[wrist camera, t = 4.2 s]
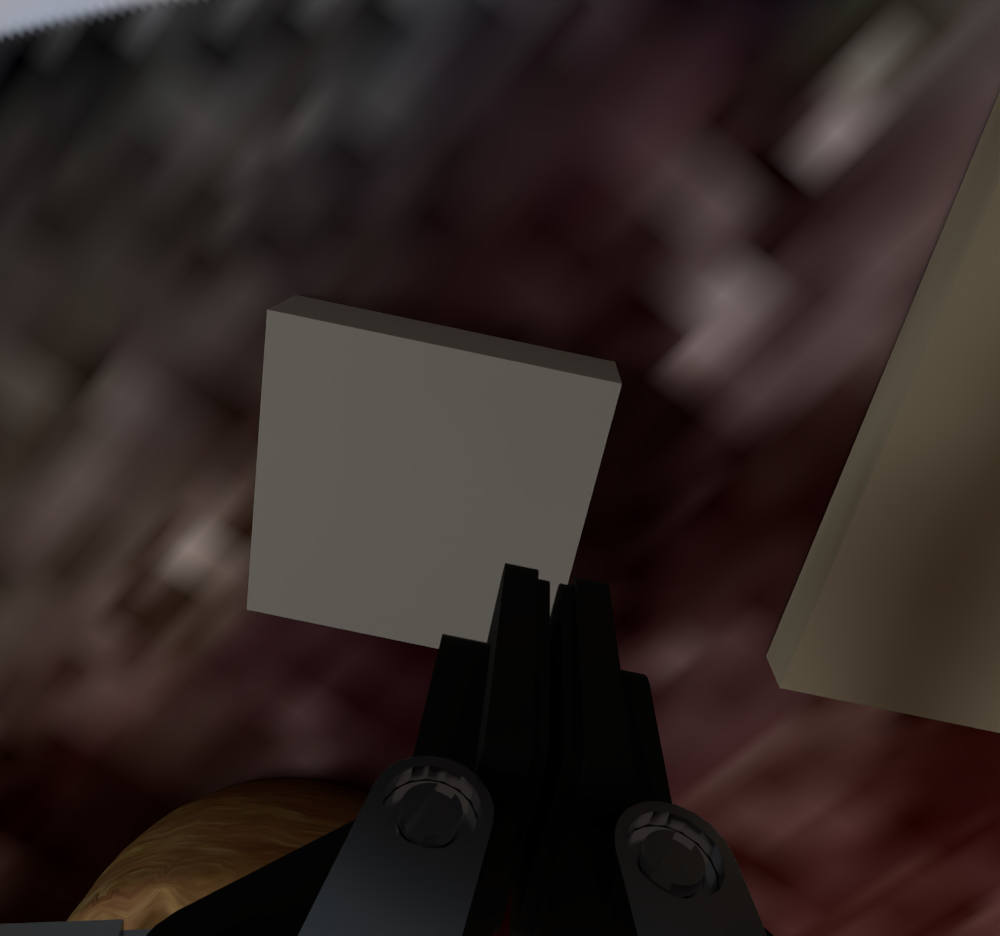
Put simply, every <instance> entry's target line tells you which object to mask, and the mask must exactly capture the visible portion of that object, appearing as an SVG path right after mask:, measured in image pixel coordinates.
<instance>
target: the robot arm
mask: <svg viewBox="0 0 1000 936" xmlns="http://www.w3.org/2000/svg"><path fill="white" fill-rule="evenodd" d="M538 577H539V570H537V569H533V568H528V567H523V566H518V565H513V564H508V563H505V565H504V569H503V573H502V577H501V582H500V586H499V590H498V595H497V599H496V604H495V608H494V613H493V617H492V621H491V626H490V630H489V635H488V639H487V643H486V642H481V641H476V640H471V639H466V638H461V637H456V636H451V635H446V634H442V637H441V641H440V646H439V650H438V654H437V658H436V662H435V667H434V671H433V675H432V679H431V684H430V688H429V692H428V696H427V700H426V705H425V709H424V713H423V717H422V721H421V726H420V730H419V734H418V738H417V743H416V747H415V751H414V755H413V757H411V758H408V759H404V760H401V761H398V762H396V763H395V764H393V765H392V766H390V767H389V768H387V769H386V770H384V771H383V772H382V773H381V775H380V776H379V777H378V779H377V780H376V781H375V783H374V784H373V786H372V788H371V790H370V792H369V794H368V796H367V798H366V800H365V802H364V804H363V806H362V808H361V810H360V812H359V814H358V816H357V818H356V819H355V820H353V821H351V822H349V823H347V824H345V825H343V826H341V827H339V828H337V829H335V830H334V831H332V832H330V833H328V834H326V835H324V836H322V837H320V838H318V839H316V840H314V841H312V842H310V843H308V844H306V845H304V846H302V847H300V848H298V849H296V850H294V851H293V852H291V853H289V854H287V855H285V856H283V857H281V858H279V859H277V860H275V861H273V862H271V863H269V864H267V865H265V866H263V867H261V868H259V869H257V870H255V871H253V872H252V873H250V874H248V875H246V876H244V877H242V878H240V879H238V880H236V881H234V882H232V883H230V884H228V885H226V886H224V887H222V888H220V889H218V890H216V891H214V892H212V893H211V894H209V895H207V896H205V897H203V898H201V899H199V900H197V901H195V902H193V903H191V904H189V905H187V906H185V907H183V908H181V909H179V910H177V911H176V912H174V913H173V914H171V915H170V916H168V917H167V918H165V919H164V920H163V921H161V922H160V923H158V924H157V925H155V926H154V927H153V928H152V929H138V930H124V919H116V920H90V921H64V922H37V923H11V924H0V936H492V934H493V932H495V933H498V932H499V930H500V927H501V924H502V921H503V917H504V914H505V910H506V907H507V903H508V900H509V896H510V893H511V889H512V903H511V920H510V934H511V936H773V935H772V934H771V933H770V932H769V931H768V930H767V929H765V928H764V927H763V924H762V922H761V919H760V917H759V915H758V912H757V910H756V907H755V905H754V903H753V900H752V898H751V895H750V893H749V891H748V888H747V886H746V884H745V881H744V879H743V876H742V874H741V872H740V869H739V867H738V864H737V862H736V860H735V857H734V855H733V854H732V852H731V850H730V848H729V847H728V845H727V843H726V841H725V840H724V839H723V838H722V836H721V835H720V834H719V833H718V832H717V831H716V830H715V829H714V828H713V827H712V826H711V825H710V824H709V823H708V822H706V821H705V820H703V819H702V818H701V817H699V816H698V815H696V814H695V813H693V812H691V811H689V810H687V809H685V808H682V807H680V806H678V805H676V804H672V801H671V796H670V791H669V785H668V780H667V775H666V770H665V764H664V759H663V754H662V748H661V743H660V738H659V732H658V727H657V722H656V716H655V711H654V706H653V700H652V695H651V690H650V684H649V681H648V678H647V677H646V676H645V675H644V674H639V673H634V672H629V671H624V670H620V663H619V655H618V648H617V640H616V633H615V626H614V618H613V611H612V604H611V596H610V589H609V585H608V584H606V583H601V582H596V581H591V580H586V579H582V578H577V577H574V578H573V580H572V583H571V585H566V584H561V583H560V584H559V586H558V589H557V592H556V596H555V600H554V603H553V607H552V611H551V615H550V581H546V580H542V579H538Z"/></svg>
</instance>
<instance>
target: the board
mask: <svg viewBox="0 0 1000 936" xmlns="http://www.w3.org/2000/svg"><path fill="white" fill-rule="evenodd" d="M766 657H767V660H768V662H769V664H770V666H771V669H772V671H773V673H774V676H775V678H776V680H777V683H778V685H779V687H780V688H783V689H788V690H793V691H798V692H802V693H807V694H812V695H817V696H822V697H827V698H832V699H837V700H842V701H846V702H851V703H856V704H861V705H866V706H871V707H876V708H881V709H886V710H890V711H895V712H900V713H905V714H910V715H915V716H920V717H925V718H930V719H934V720H939V721H944V722H949V723H954V724H959V725H964V726H969V727H974V728H978V729H983V730H988V731H993V732H998V733H1000V92H999V95H998V97H997V100H996V102H995V104H994V107H993V109H992V112H991V114H990V116H989V119H988V121H987V124H986V126H985V129H984V131H983V133H982V136H981V138H980V141H979V143H978V145H977V148H976V150H975V153H974V155H973V158H972V160H971V162H970V165H969V167H968V170H967V172H966V174H965V177H964V179H963V182H962V184H961V187H960V189H959V191H958V194H957V196H956V199H955V201H954V203H953V206H952V208H951V211H950V213H949V216H948V218H947V220H946V223H945V225H944V228H943V230H942V232H941V235H940V237H939V240H938V242H937V245H936V247H935V249H934V252H933V254H932V257H931V259H930V261H929V264H928V266H927V269H926V271H925V274H924V276H923V278H922V281H921V283H920V286H919V288H918V290H917V293H916V295H915V298H914V300H913V303H912V305H911V307H910V310H909V312H908V315H907V317H906V319H905V322H904V324H903V327H902V329H901V332H900V334H899V336H898V339H897V341H896V344H895V346H894V348H893V351H892V353H891V356H890V358H889V361H888V363H887V365H886V368H885V370H884V373H883V375H882V377H881V380H880V382H879V385H878V387H877V390H876V392H875V394H874V397H873V399H872V402H871V404H870V406H869V409H868V411H867V414H866V416H865V419H864V421H863V423H862V426H861V428H860V431H859V433H858V435H857V438H856V440H855V443H854V445H853V447H852V450H851V452H850V455H849V457H848V460H847V462H846V464H845V467H844V469H843V472H842V474H841V476H840V479H839V481H838V484H837V486H836V489H835V491H834V493H833V496H832V498H831V501H830V503H829V505H828V508H827V510H826V513H825V515H824V518H823V520H822V522H821V525H820V527H819V530H818V532H817V534H816V537H815V539H814V542H813V544H812V547H811V549H810V551H809V554H808V556H807V559H806V561H805V563H804V566H803V568H802V571H801V573H800V576H799V578H798V580H797V583H796V585H795V588H794V590H793V592H792V595H791V597H790V600H789V602H788V605H787V607H786V609H785V612H784V614H783V617H782V619H781V621H780V624H779V626H778V629H777V631H776V634H775V636H774V638H773V641H772V643H771V646H770V648H769V650H768V653H767V655H766Z"/></svg>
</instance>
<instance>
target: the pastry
mask: <svg viewBox="0 0 1000 936" xmlns="http://www.w3.org/2000/svg"><path fill="white" fill-rule="evenodd" d="M367 796H368V795H367V794H365V793H362V792H360V791H357V790H355V789H352V788H348V787H344V786H339V785H335V784H331V783H326V782H320V781H314V780H308V779H302V778H274V779H263V780H252V781H247V782H244V783H240V784H236V785H232V786H228V787H226V788H223V789H221V790H218V791H216V792H213V793H211V794H209V795H206V796H204V797H202V798H199V799H197V800H195V801H192V802H190V803H188V804H185V805H183V806H181V807H178V808H177V809H175V810H174V811H173V812H171V813H170V814H168V815H167V816H165V817H164V818H162V819H161V820H159V821H158V822H156V823H155V824H154V825H152V826H151V827H150V828H149V829H148V830H146V831H145V832H144V833H143V834H141V835H140V836H139V837H138V838H137V839H135V840H134V841H133V842H132V843H131V844H130V845H129V846H127V847H126V848H125V849H124V850H123V851H122V852H121V853H120V854H119V855H118V856H117V858H116V859H115V860H114V861H113V862H112V863H111V864H110V865H109V866H108V868H107V869H106V870H105V871H104V872H103V873H102V874H101V876H100V877H99V878H98V879H97V881H96V882H95V883H94V885H93V886H92V888H91V889H90V891H89V892H88V893H87V895H86V896H85V898H84V899H83V900H82V901H81V903H80V904H79V905H78V906H77V908H76V909H75V910H74V911H73V913H72V914H71V915H70V917H69V918H68V920H67V921H90V920H116V919H124V930H138V929H152V928H153V927H154V926H155V925H157V924H158V923H160V922H161V921H163V920H164V919H165V918H167V917H168V916H170V915H171V914H173V913H174V912H176V911H177V910H179V909H181V908H183V907H185V906H187V905H189V904H191V903H193V902H195V901H197V900H199V899H201V898H203V897H205V896H207V895H209V894H211V893H212V892H214V891H216V890H218V889H220V888H222V887H224V886H226V885H228V884H230V883H232V882H234V881H236V880H238V879H240V878H242V877H244V876H246V875H248V874H250V873H252V872H253V871H255V870H257V869H259V868H261V867H263V866H265V865H267V864H269V863H271V862H273V861H275V860H277V859H279V858H281V857H283V856H285V855H287V854H289V853H291V852H293V851H294V850H296V849H298V848H300V847H302V846H304V845H306V844H308V843H310V842H312V841H314V840H316V839H318V838H320V837H322V836H324V835H326V834H328V833H330V832H332V831H334V830H335V829H337V828H339V827H341V826H343V825H345V824H347V823H349V822H351V821H353V820H355V819H356V818H357V816H358V814H359V812H360V810H361V808H362V806H363V804H364V802H365V800H366V798H367Z"/></svg>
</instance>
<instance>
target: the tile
mask: <svg viewBox="0 0 1000 936" xmlns="http://www.w3.org/2000/svg"><path fill="white" fill-rule="evenodd" d="M621 385H622V382H621V379H620V376H619V373H618V370H617V366H616V363H615V362H613V361H608V360H604V359H599V358H594V357H589V356H585V355H580V354H575V353H570V352H566V351H561V350H556V349H551V348H547V347H542V346H537V345H532V344H527V343H523V342H518V341H513V340H508V339H504V338H499V337H494V336H489V335H485V334H480V333H475V332H470V331H466V330H461V329H456V328H451V327H447V326H442V325H437V324H432V323H427V322H423V321H418V320H413V319H408V318H404V317H399V316H394V315H389V314H385V313H380V312H375V311H370V310H366V309H361V308H356V307H351V306H346V305H342V304H337V303H332V302H327V301H323V300H318V299H313V298H308V297H304V296H299V295H296V296H294V297H292V298H290V299H288V300H286V301H284V302H282V303H280V304H277V305H275V306H273V307H271V308H269V309H267V321H266V335H265V350H264V365H263V379H262V394H261V408H260V423H259V438H258V452H257V467H256V481H255V496H254V511H253V525H252V540H251V554H250V569H249V584H248V598H247V610H252V611H257V612H262V613H266V614H271V615H276V616H281V617H286V618H291V619H296V620H301V621H306V622H310V623H315V624H320V625H325V626H330V627H335V628H340V629H345V630H349V631H354V632H359V633H364V634H369V635H374V636H379V637H384V638H388V639H393V640H398V641H403V642H408V643H413V644H418V645H423V646H427V647H432V648H437V649H439V646H440V641H441V637H442V634H446V635H451V636H456V637H461V638H466V639H471V640H476V641H481V642H486V643H487V639H488V635H489V630H490V626H491V621H492V617H493V613H494V608H495V604H496V599H497V595H498V590H499V586H500V582H501V577H502V573H503V569H504V565H505V563H508V564H513V565H518V566H523V567H528V568H533V569H537V570H539V577H538V579H542V580H546V581H550V615H551V611H552V607H553V603H554V600H555V596H556V592H557V589H558V586H559V584H560V583H561V584H566V585H568V581H569V577H570V573H571V570H572V566H573V562H574V559H575V555H576V551H577V548H578V544H579V540H580V537H581V533H582V529H583V526H584V522H585V518H586V515H587V511H588V507H589V503H590V500H591V496H592V492H593V489H594V485H595V481H596V478H597V474H598V470H599V467H600V463H601V459H602V456H603V452H604V448H605V444H606V441H607V437H608V433H609V430H610V426H611V422H612V419H613V415H614V411H615V408H616V404H617V400H618V397H619V393H620V389H621Z"/></svg>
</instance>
